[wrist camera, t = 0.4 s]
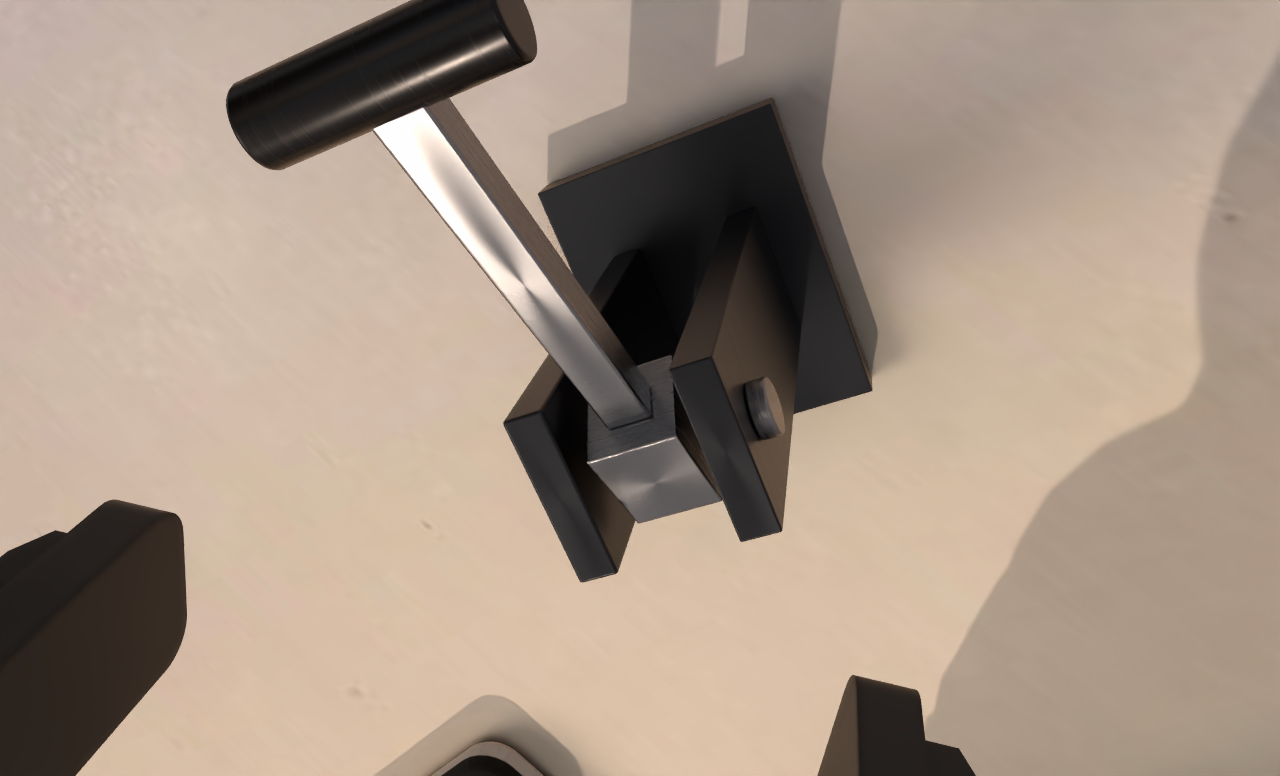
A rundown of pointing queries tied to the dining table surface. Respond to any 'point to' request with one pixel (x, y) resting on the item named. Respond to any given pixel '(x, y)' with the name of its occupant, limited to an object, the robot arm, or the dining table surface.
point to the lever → (480, 213)
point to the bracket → (695, 320)
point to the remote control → (488, 762)
